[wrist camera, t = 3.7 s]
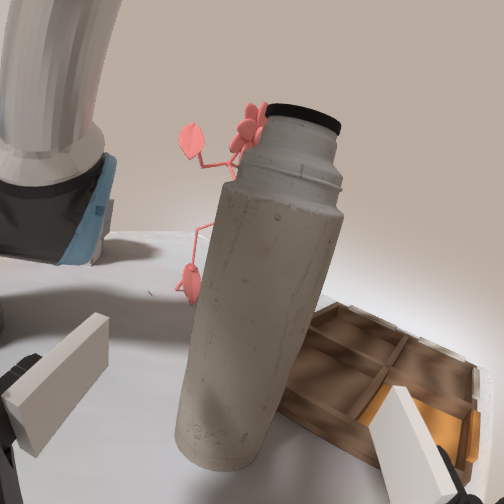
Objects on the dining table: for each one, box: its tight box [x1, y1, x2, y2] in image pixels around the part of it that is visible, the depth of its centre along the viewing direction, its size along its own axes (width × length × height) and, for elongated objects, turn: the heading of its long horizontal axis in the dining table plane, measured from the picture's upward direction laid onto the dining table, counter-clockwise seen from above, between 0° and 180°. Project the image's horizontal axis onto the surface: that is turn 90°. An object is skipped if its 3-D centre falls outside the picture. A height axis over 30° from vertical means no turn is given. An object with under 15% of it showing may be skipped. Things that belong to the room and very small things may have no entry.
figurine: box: [148, 102, 268, 305], centre depth 52 cm, size 15×26×35 cm, turn 145°
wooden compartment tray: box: [277, 302, 481, 487], centre depth 39 cm, size 31×31×4 cm
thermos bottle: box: [175, 103, 344, 472], centre depth 22 cm, size 8×8×28 cm
